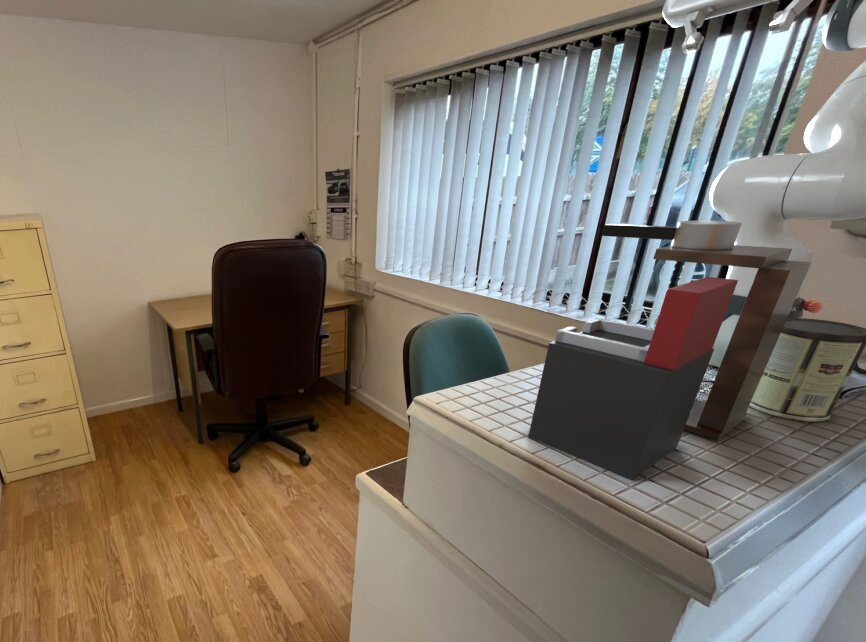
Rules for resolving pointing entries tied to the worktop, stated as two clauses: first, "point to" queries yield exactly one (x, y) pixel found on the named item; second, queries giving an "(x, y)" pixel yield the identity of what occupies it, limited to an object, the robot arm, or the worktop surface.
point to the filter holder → (683, 233)
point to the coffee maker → (630, 380)
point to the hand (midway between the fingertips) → (730, 41)
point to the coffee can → (808, 369)
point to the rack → (744, 330)
